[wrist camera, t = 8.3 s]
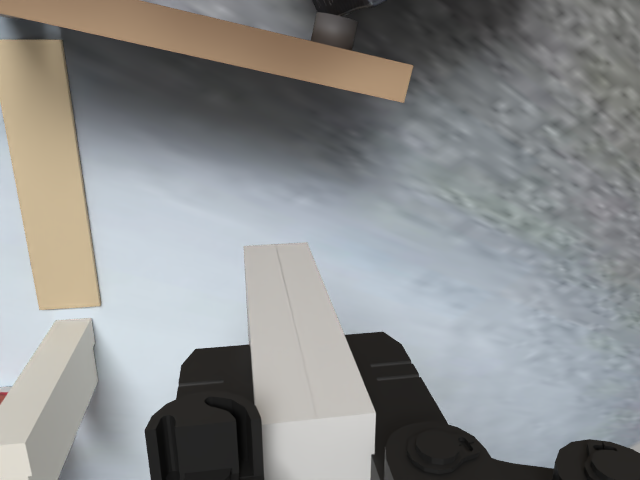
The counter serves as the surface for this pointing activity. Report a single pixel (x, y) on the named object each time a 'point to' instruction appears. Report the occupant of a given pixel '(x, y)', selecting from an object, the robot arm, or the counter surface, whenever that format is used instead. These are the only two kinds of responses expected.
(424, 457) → the robot arm
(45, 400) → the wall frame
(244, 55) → the door
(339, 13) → the small box
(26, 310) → the counter surface
